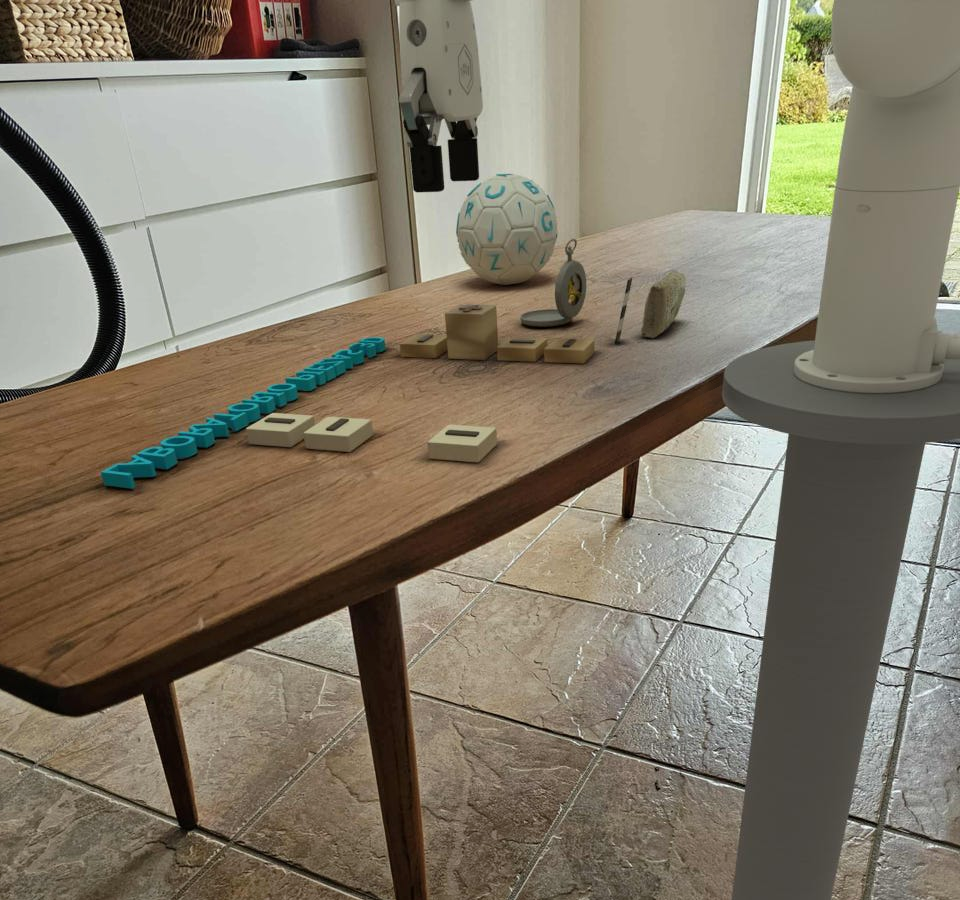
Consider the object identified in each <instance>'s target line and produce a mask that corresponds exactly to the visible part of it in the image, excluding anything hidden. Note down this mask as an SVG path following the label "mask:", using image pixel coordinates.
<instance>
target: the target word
mask: <svg viewBox="0 0 960 900" xmlns="http://www.w3.org/2000/svg"><path fill="white" fill-rule="evenodd" d="M315 421H316V420H315V416H314V415H311V414H297V413H283V412H282V413H279V412H271V413H269V414H267V415H266V416H265V417H263V418H260V419H258V420H257V421H255V422H254V423H253V424H251V425H249V426H246V428H245V432H246V437H247V442H248V444H249V445H256V446H269V447H280V448H292V447H294V446H296V445H297V444H298V443H300V442H302V441H304V445H305V449H306V450H319V451H331V452H332V451H333V452H343V453H344V452H345V453H351V452H352V451H354V450H355V449H356V448H358V447H360V446H361V445H362V444H363V443H365V442H366V441H367V440H369V439H370V438H371V437H373V436H374V429H373V421H372V419H369V418H356V417H355V418H354V417H343V416H342V417H341V416H327V417H326V418H323V419H322V420H321V421H319V422H318V423H316V422H315ZM497 445H498V432H497V427H494V426H493V427H491V426H477V425H463V424H447V425H446V426H444V428H443V429H441V430H440V431H438V432H437V433H436V434H435V435H434V436H433V437H431V438H430V439H429V440H428V441H427V450H428V459H430V460H443V461H452V462H453V461H454V462H455V461H456V462H465V463H466V462H467V463H480V462H481V461H482V460H483V459H484V458H485V457H486V456H487V455H488V454H489V453H490V452H491V451H492V450H493V449H494V448H495V447H496V446H497Z"/></svg>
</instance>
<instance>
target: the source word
mask: <svg viewBox="0 0 960 900" xmlns="http://www.w3.org/2000/svg"><path fill="white" fill-rule="evenodd" d="M595 345H596V344H595V339H593V338H591V339H586V338H555V339H554V340H553V341H551V342H550V343H549V344H548V338H547V337H526V336H525V337H524V336H523V337H522V336H519V337H518V336H510V337H509V338H507V339H506V340H504V341H503V342H502V343H501V344H498V347H497V351H496V355H497V356H496V357H497V359H496V360H497V361H501V362H502V361H504V362H527V363H528V362H529V363H536V362H537V361H538V360H539V359H540V358H542V357H543V356H544V358H543V359H544V363H555V364H556V363H557V364H579V365H580V364H582V365H584V364H585V363H586V362H587V361H588V360H589V359H590V358H591V357H592V356H593V355H594V354H595ZM399 350H400V357H401V358H421V359H423V358H424V359H437V358H439V357H440V356H442V355H443V354H444V353H446V352H448V347H447V335H446V334H422V333H421V334H419V333H416V334H414V335H412V336H411V337H409V338H407V339H405V340H404V341H402V342H400V343H399Z"/></svg>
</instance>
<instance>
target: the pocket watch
mask: <svg viewBox="0 0 960 900" xmlns="http://www.w3.org/2000/svg"><path fill="white" fill-rule="evenodd" d="M572 242H574V246H573V247H572V246H571V245H570V244H571V243H572ZM577 244H578V241H577V239H575V238H571V239H570V240H568V242H567V243H566V245H565V247H564V251H565V252H564V253H565V254H566V256H567V261H565V262H563V264H562V266H561V268H560V269H559V271H558V274H557V276H556V280H555V285H554V301H555V306H556V308H547V309H546V308H545V309H536V310H530V311H527V312H524V313H522V314H520V317H519V318H520V319H519V320H520V322H521V323H522V324H523V325H526V326H529V327H536V328H541V327H542V328H547V327H548V328H550V327H551V328H552V327H557V326H561V325H565V324H567V323H570V322H571V321H573V319H574V318H575V317H576V316H578V314H579V313H581V310H582V309H583V306H584V303H585V300H586V295H587V275H586V270H585V268H584V266H583V265H582V263H581V262H580V261H577V260H576V259H573V258H572V257H573V256H572V255H574V251H575V250H576V248H577Z"/></svg>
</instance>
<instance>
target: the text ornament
mask: <svg viewBox="0 0 960 900" xmlns="http://www.w3.org/2000/svg"><path fill="white" fill-rule="evenodd" d="M385 339H386V338H384V337H380V336H377V337H376V336H372V337H371V336H370V337H366V338H362V339H360V340H358V341H357V342H355V343H352V344H350V345H349V346H348V349H341V350H337V351H335V353H332V354H331V357H326V358H322V359H320V360H318V361H317V362H315V363H313V364H310V365H308V366H307V367H304V368H303V369H301V370H299V371H296V372H295V377H289V376H287V377H285V379H284V380H285V382H283V383H275V384H271V385H269V386H267V387H266V391H264V390H259V391H257V392H255V393H254V394H252V395H250V399H248V398H243V399H242V400H241V402H238V403H234V404H232V405H230V406H228V407H227V413H217V412H216V413H214V414H213V418H212V417H207V418H205V423H195V424H193V425H191V426H188V431H183V430H181V431H179V432H177V435H174V436H170V437H166V438H164V439H162V440H161V441H160V446H151V447H148V448H145V449H143V450H140V451H139V452H138V453H136V454H133V455H131V456H130V458H131V459H130V460H131V461H129V462H120V463H119V462H118V463H116V464H114V465H111V466H110V467H108V468H106V469H103V470H102V471H100V474H101V478H102V482H103V484H104V486H108V487H109V486H110V487H117V488H124V489H134V488H135V487H136V483H135V479H136V478H154V477H155V476H157V473H156V469H161V470H168V469H171V468H172V467H174V466H175V465H177V464H178V459H185V458H189V457H192V456H194V455H196V454H197V453H198V449H197V448H198V447H199V448H207V449H208V447H211V446H212V445H214V444H215V443H216V440H215V438H223V437H225V438H227V437H229V436H230V431H229V429H231V431H232V432H238V431H240V430H241V429H243V428H245V427H248V425H249V426H250V424H249V423H252V422H257V421H259V420H261V419H262V417H261V414H267V415H270V414H271V413H273V412H275V410H276V406H277V407H278V408H282V407H284V406H285V405H287V404H288V402H291V401H295V400H297V399H298V398H299V395H298V391H307V392H310V391H311V392H312V391H313V390H315V389H316V388H317V385H318V386H322V385H324V384H326V383H327V382H329V381H332V380H333V379H334V378H336V377H338V376H340V375H342V374H344V373H345V372H347V370H348V369H353V368H354V366H353V365H360V364H362V363H364V362H365V356H367V358H372V357H375V356H377V353H382V352H383V351H386V350H387V346H386V340H385ZM134 478H135V479H134Z"/></svg>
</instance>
